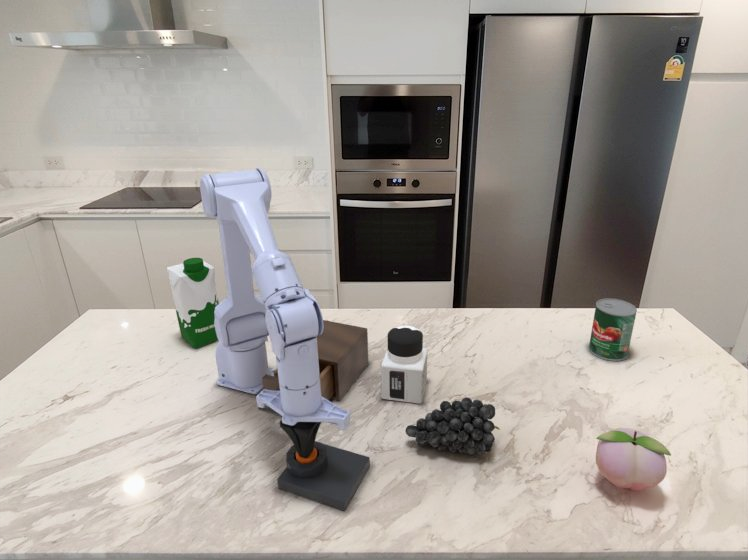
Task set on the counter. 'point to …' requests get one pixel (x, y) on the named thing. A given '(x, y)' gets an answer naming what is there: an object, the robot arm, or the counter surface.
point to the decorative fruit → (631, 459)
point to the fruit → (457, 427)
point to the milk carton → (195, 300)
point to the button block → (325, 475)
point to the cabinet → (343, 353)
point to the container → (404, 366)
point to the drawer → (325, 383)
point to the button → (310, 459)
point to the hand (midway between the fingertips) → (306, 453)
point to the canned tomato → (612, 329)
